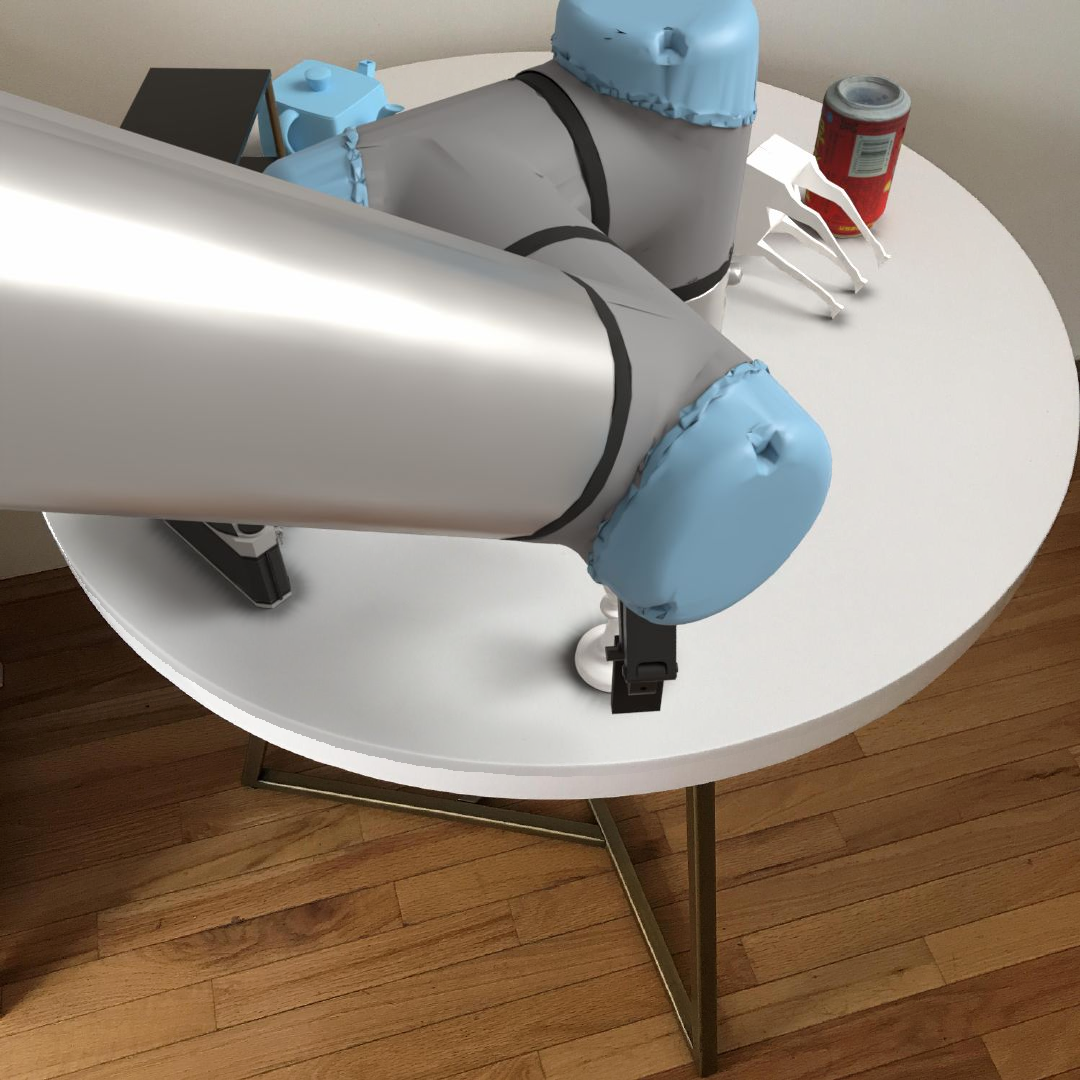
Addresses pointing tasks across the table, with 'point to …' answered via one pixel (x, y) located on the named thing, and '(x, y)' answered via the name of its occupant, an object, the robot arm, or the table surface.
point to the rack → (206, 111)
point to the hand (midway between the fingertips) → (621, 609)
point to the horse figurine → (793, 211)
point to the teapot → (322, 104)
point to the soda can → (859, 148)
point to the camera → (241, 556)
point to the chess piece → (599, 646)
